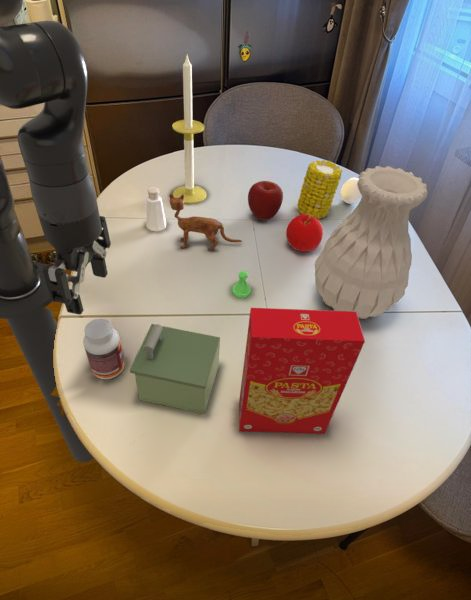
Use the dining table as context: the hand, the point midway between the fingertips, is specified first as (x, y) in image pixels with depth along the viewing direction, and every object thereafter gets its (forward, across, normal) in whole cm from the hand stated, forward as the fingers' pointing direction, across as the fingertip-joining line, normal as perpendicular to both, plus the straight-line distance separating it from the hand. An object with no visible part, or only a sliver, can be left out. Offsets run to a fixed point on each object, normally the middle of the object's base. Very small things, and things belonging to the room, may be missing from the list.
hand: (89, 293), depth 66 cm
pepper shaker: (+20, -46, -6) cm, 50 cm away
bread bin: (+19, 0, +15) cm, 24 cm away
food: (+19, -66, +35) cm, 77 cm away
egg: (+19, -74, +44) cm, 88 cm away
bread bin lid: (+11, 0, +14) cm, 18 cm away
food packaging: (+19, +3, +34) cm, 39 cm away
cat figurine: (+19, -42, +9) cm, 47 cm away
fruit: (+19, -48, +33) cm, 61 cm away
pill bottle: (+19, 0, 0) cm, 19 cm away
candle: (+20, -64, -2) cm, 66 cm away
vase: (+19, -31, +46) cm, 58 cm away
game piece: (+19, -27, +21) cm, 39 cm away
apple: (+19, -59, +21) cm, 65 cm away
